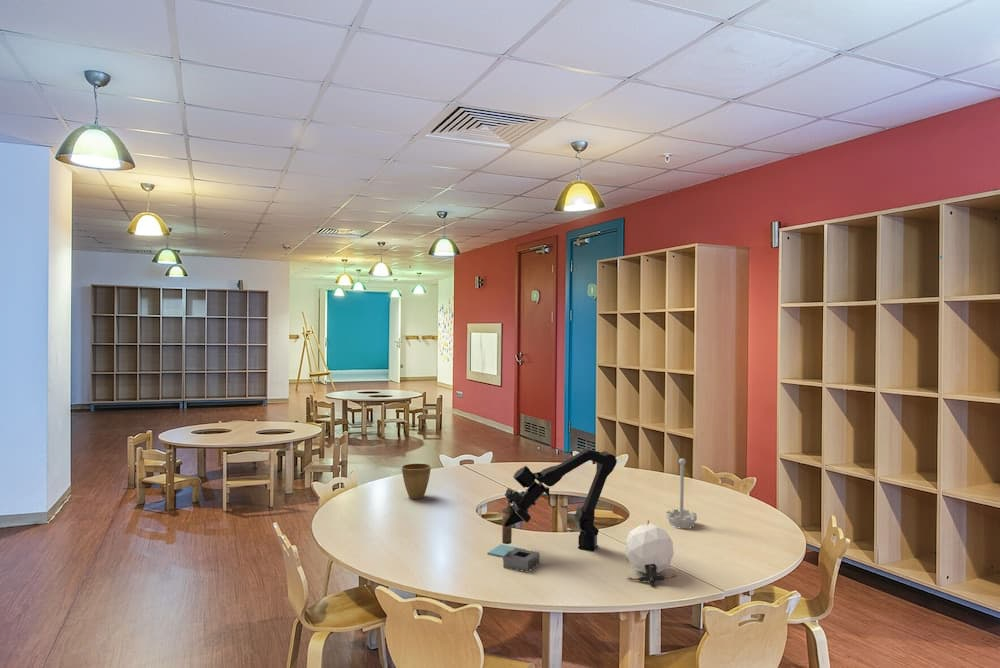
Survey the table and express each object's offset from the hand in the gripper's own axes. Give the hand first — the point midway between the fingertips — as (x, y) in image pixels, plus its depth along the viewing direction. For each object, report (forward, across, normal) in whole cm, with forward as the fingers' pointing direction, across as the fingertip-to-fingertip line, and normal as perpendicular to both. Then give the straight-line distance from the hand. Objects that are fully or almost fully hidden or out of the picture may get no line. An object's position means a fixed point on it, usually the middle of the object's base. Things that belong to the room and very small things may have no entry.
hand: (503, 524), depth 252 cm
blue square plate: (+7, 0, +9) cm, 11 cm away
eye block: (+5, +14, +11) cm, 18 cm away
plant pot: (+28, -85, -13) cm, 90 cm away
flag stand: (-52, -22, +69) cm, 89 cm away
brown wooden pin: (+4, 0, +6) cm, 7 cm away
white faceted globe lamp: (-26, +30, +42) cm, 58 cm away
